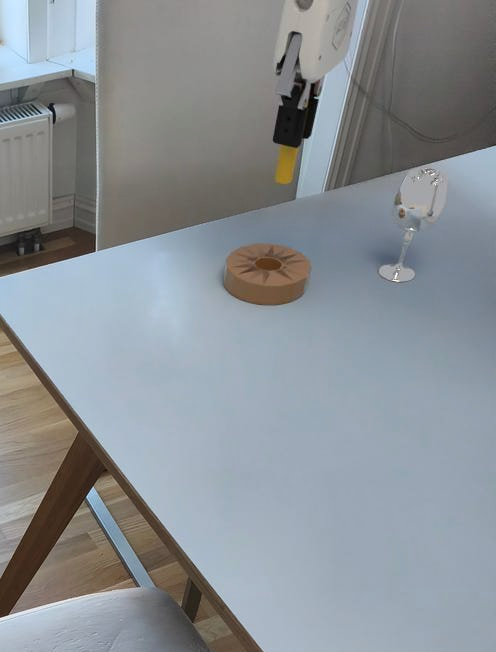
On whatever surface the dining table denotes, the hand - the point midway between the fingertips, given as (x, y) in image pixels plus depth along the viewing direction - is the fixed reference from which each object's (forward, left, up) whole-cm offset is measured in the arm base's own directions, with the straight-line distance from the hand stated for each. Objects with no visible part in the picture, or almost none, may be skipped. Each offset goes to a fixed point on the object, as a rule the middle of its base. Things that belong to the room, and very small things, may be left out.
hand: (291, 138), depth 99 cm
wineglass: (-17, -3, -17) cm, 25 cm away
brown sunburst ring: (0, 0, -17) cm, 17 cm away
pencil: (0, 0, -5) cm, 5 cm away
